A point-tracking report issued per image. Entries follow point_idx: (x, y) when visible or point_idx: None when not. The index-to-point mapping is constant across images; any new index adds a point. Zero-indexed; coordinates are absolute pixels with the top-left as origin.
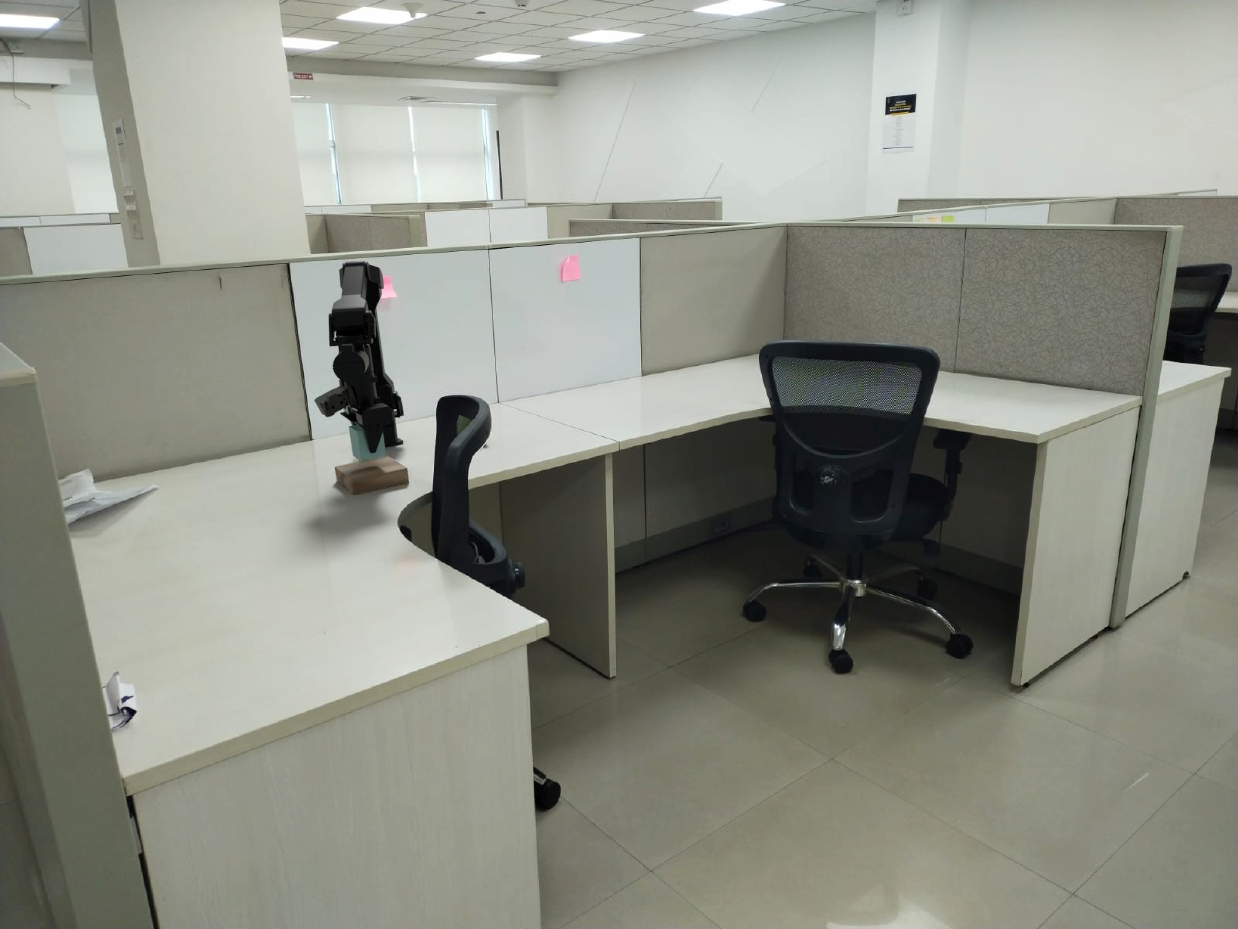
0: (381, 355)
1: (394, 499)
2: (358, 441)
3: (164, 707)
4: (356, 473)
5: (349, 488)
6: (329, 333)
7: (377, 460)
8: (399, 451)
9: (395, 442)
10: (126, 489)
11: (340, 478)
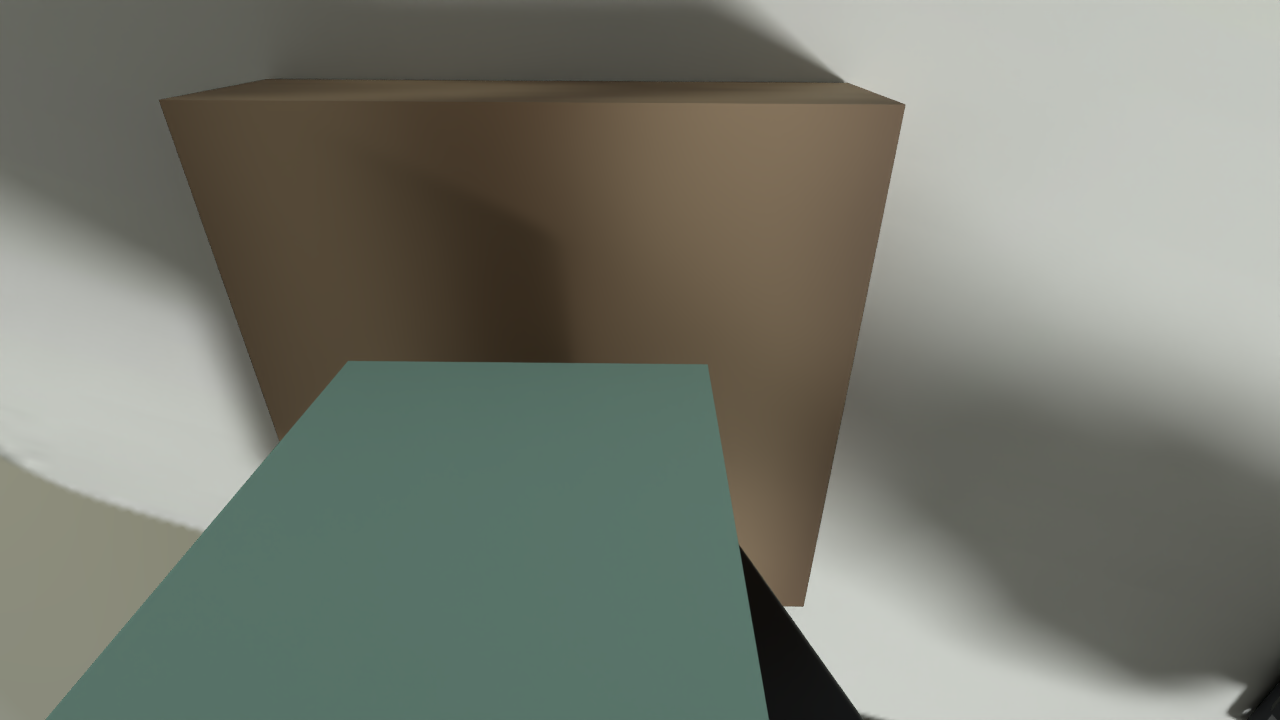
0: None
1: (3, 319)
2: (145, 601)
3: None
4: (419, 232)
5: (388, 83)
6: None
7: (737, 517)
8: (1115, 665)
9: (1270, 709)
10: None
11: (689, 90)
